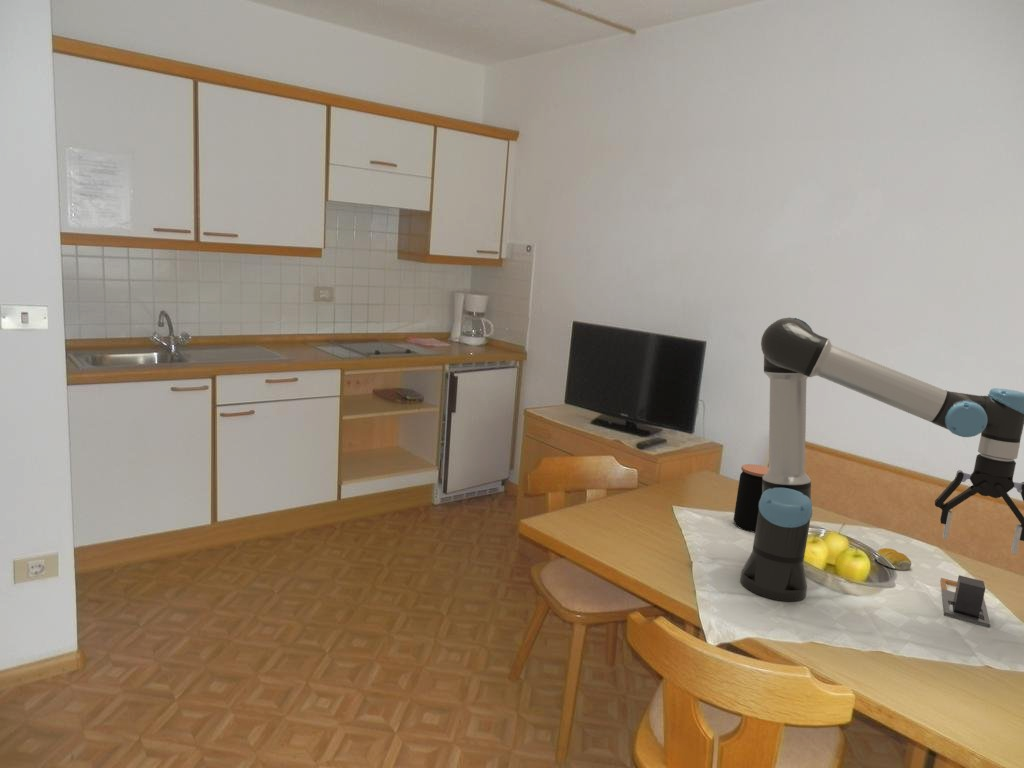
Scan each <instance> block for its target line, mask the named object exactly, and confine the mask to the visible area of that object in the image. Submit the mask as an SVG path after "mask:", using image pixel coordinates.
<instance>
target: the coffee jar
mask: <svg viewBox="0 0 1024 768" xmlns="http://www.w3.org/2000/svg"><path fill="white" fill-rule="evenodd" d="M741 471H742V472H741V473H740V474H739V482H738V488H737V494H736V500H735V506H734V514H733V522H734V524H735V526H736V525H737V526H736V527H737V528H739V527H740V529H741V528H742V530H744V529H745V530H744V531H747V530H749V531H748V532H751V531H756V524H757V518H758V512H759V501H760V499H761V495H762V479H763V475H765V474H766V473H767V472H768V471H769V466H765V465H761V464H751V463H749V464H743V465H741Z"/></svg>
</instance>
